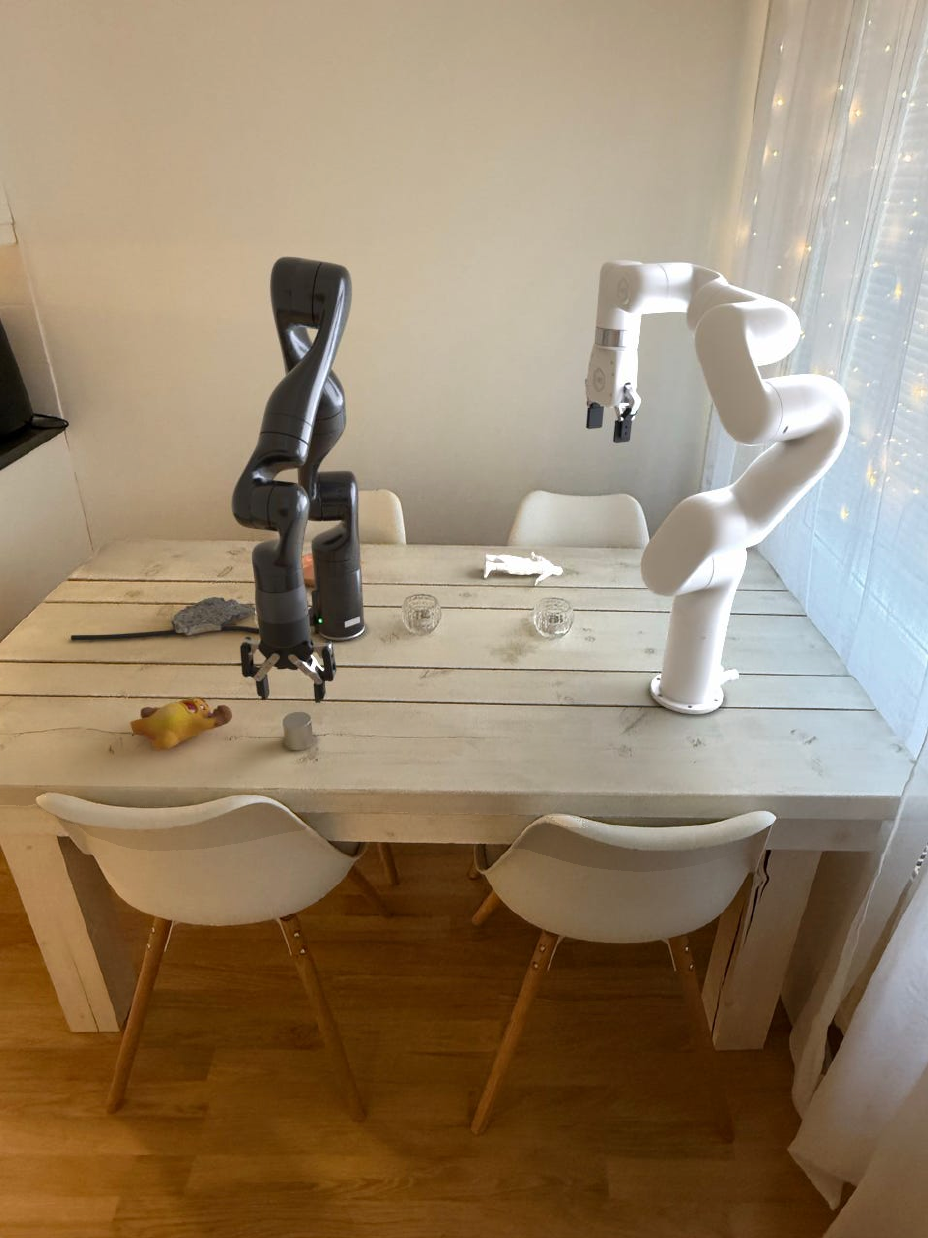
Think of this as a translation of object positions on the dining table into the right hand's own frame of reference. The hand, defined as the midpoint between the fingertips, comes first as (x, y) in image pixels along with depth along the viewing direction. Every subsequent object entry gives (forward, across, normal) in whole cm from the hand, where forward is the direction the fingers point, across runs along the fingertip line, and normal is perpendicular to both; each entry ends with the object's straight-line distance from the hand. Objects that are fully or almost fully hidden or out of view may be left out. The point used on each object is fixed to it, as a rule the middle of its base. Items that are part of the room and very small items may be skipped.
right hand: (607, 434), depth 150 cm
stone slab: (+40, -28, -73) cm, 88 cm away
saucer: (+40, -41, -46) cm, 73 cm away
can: (+40, +19, -64) cm, 78 cm away
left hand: (+31, +18, -65) cm, 74 cm away
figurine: (+40, -26, -3) cm, 47 cm away
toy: (+40, +10, -81) cm, 91 cm away
